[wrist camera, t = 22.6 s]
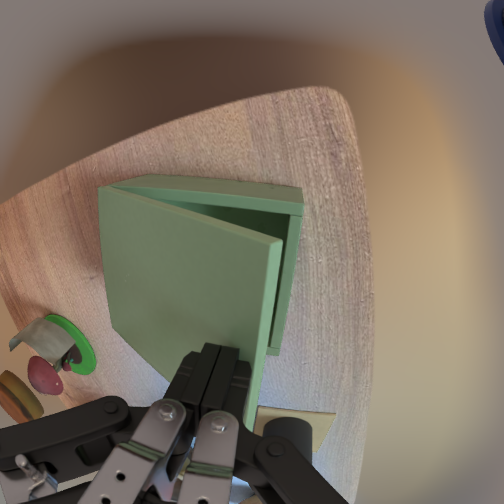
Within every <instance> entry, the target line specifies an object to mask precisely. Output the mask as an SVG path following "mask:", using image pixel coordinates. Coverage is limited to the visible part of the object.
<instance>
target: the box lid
mask: <svg viewBox="0 0 504 504" xmlns="http://www.w3.org/2000/svg"><path fill="white" fill-rule="evenodd" d="M98 213H99V230H100V243H101V254H102V263H103V272H104V280H105V287H106V294H107V301H108V307H109V313H110V318H111V324H112V328H113V329H114V330H115V331H116V332H117V333H118V334H119V335H120V336H121V337H122V338H123V339H124V340H125V341H126V342H127V343H128V344H129V345H130V346H131V347H132V348H133V349H134V350H135V351H136V352H137V353H138V354H139V355H140V356H141V357H142V358H143V359H144V360H145V361H146V362H148V363H149V364H150V365H151V366H152V367H153V368H154V369H155V370H156V371H157V372H158V373H160V374H161V375H162V376H163V377H164V378H165V379H166V380H167V381H169V382H170V383H171V381H172V379H173V377H174V375H175V374H176V371H177V369H178V368H179V366H180V364H181V362H182V360H183V358H184V357H185V356H186V355H187V354H189V353H190V352H191V351H195V352H200V353H201V350H202V348H203V346H204V344H205V342H207V343H213V344H218V345H222V346H229V347H235V348H239V360H242V361H248V362H249V363H250V366H251V369H252V375H251V382H250V389H249V395H248V400H247V404H246V409H245V414H244V418H243V423H244V425H245V426H246V428H247V429H248V430H250V431H251V432H252V430H253V425H254V420H255V414H256V409H257V403H258V398H259V392H260V386H261V381H262V375H263V369H264V363H265V357H266V351H267V345H268V339H269V333H270V326H271V320H272V314H273V307H274V301H275V294H276V287H277V280H278V273H279V266H280V259H281V252H282V245H283V240H281V239H278V238H275V237H272V236H269V235H266V234H263V233H260V232H257V231H254V230H251V229H247V228H244V227H241V226H238V225H235V224H232V223H228V222H225V221H222V220H219V219H216V218H213V217H209V216H206V215H203V214H200V213H196V212H193V211H190V210H187V209H183V208H180V207H177V206H174V205H170V204H167V203H164V202H160V201H157V200H154V199H150V198H147V197H144V196H140V195H137V194H133V193H130V192H127V191H123V190H120V189H116V188H113V187H109V186H100V187H98Z"/></svg>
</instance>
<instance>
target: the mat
mask: <svg viewBox="0 0 504 504" xmlns="http://www.w3.org/2000/svg"><path fill="white" fill-rule="evenodd" d="M280 417H295V418H300V419H303V420H305V421H307V422H308V423H309V424H310V425H311V426H312V429H313V434H312V452H317V451H318V450H319V448H320V446H321V444H322V442H323V440H324V439H325V437H326V435H327V433H328V431H329V429H330V427H331V425H332V423H333V421H334V419H335V417H336V414H334V413H318V412H306V411H295V410H286V409H278V408H270V407H263V406H259V407H258V412H257V417H256V422H255V428H254V433H255V434H257V435H259V436H261V437H262V435H263V429H264V426H265V424H266V423H267V422H269V421H270V420H273V419H276V418H280Z"/></svg>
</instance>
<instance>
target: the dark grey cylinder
mask: <svg viewBox="0 0 504 504" xmlns="http://www.w3.org/2000/svg"><path fill="white" fill-rule="evenodd" d="M312 434H313V429H312V426H311V425H310V424H309V423H308V422H307V421H305V420H303V419H300V418H295V417H280V418H276V419H273V420H270V421H269V422H267V423H266V424H265V426H264V429H263V435H262V437H266V436H270V435H278V436H282V437H285V438H287V439H288V440H290V441H291V442H292V443H293V444H294V445H295V447H296V448H297V449H298V450H299V451H300V452H301V453H302V455H303V456H304V457H305V458H306V459H307V460H308V461H309V462H310V464H311V465H312Z"/></svg>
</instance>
